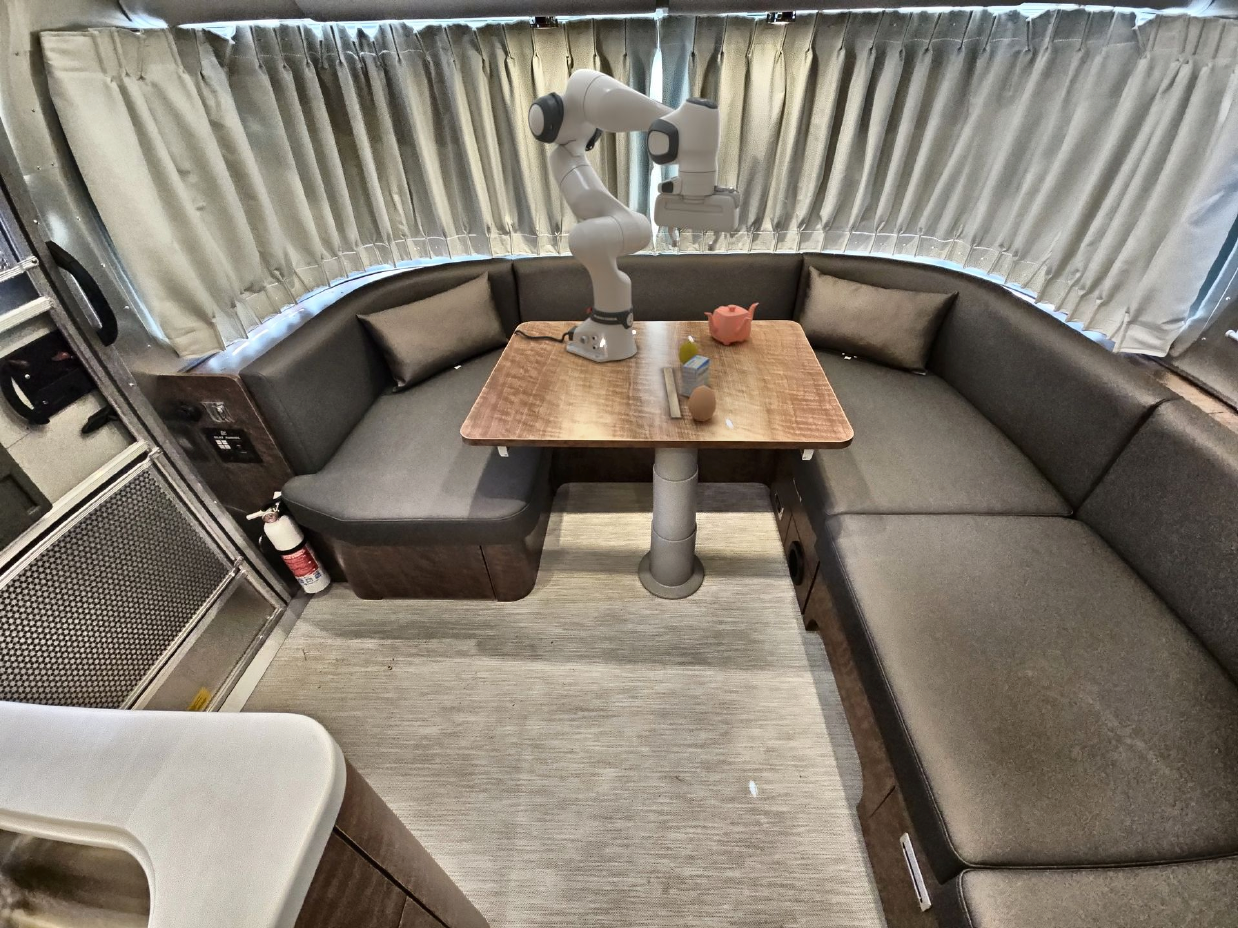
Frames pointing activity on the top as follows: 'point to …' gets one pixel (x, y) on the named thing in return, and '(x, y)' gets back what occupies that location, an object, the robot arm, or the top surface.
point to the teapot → (730, 323)
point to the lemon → (687, 352)
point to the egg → (702, 403)
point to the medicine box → (694, 374)
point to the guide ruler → (671, 393)
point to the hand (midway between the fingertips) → (693, 248)
